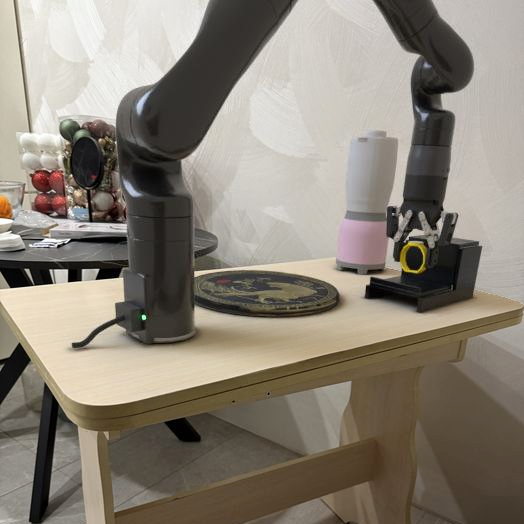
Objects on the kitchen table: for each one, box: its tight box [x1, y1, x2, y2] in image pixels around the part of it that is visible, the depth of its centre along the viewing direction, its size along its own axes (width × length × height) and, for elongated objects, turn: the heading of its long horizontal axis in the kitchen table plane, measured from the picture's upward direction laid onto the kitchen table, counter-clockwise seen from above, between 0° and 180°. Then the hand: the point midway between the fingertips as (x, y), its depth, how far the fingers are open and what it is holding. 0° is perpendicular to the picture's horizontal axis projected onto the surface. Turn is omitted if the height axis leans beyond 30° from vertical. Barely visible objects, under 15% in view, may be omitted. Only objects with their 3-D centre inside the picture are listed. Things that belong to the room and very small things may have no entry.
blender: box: [335, 129, 399, 275], centre depth 126 cm, size 16×12×32 cm
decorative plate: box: [194, 269, 340, 318], centre depth 101 cm, size 30×2×30 cm
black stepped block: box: [364, 234, 483, 314], centre depth 103 cm, size 20×13×11 cm, turn 132°
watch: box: [399, 241, 427, 273], centre depth 100 cm, size 6×3×6 cm, turn 35°
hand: (413, 264), depth 100 cm, fingers closed on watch, 6 cm apart
